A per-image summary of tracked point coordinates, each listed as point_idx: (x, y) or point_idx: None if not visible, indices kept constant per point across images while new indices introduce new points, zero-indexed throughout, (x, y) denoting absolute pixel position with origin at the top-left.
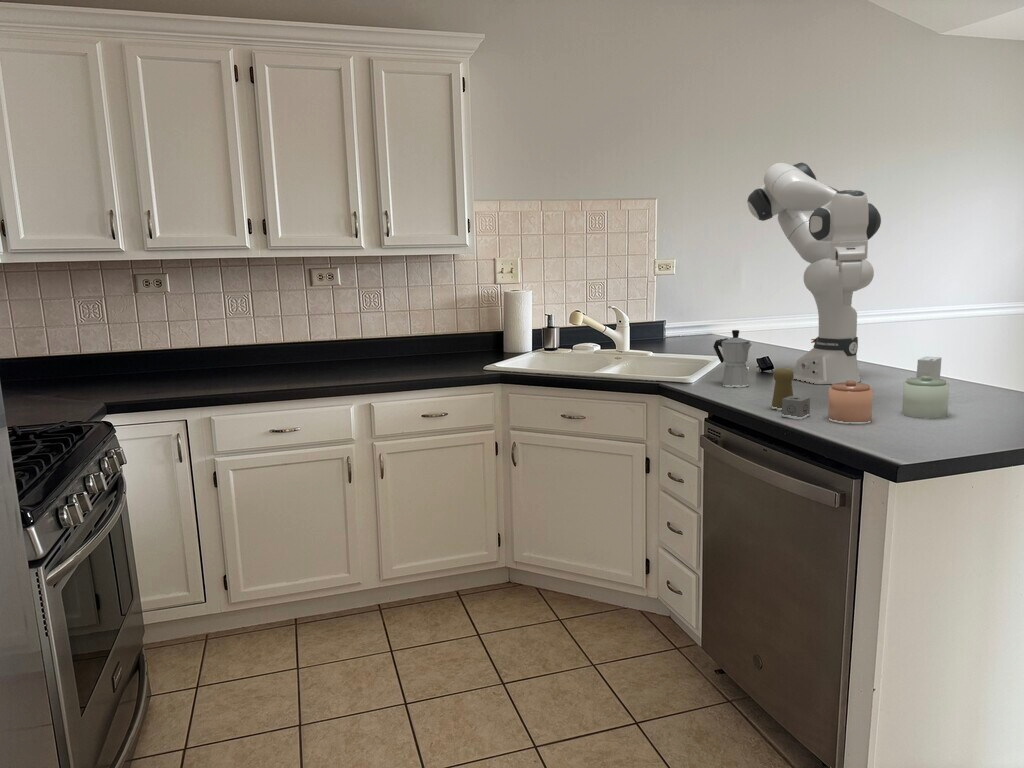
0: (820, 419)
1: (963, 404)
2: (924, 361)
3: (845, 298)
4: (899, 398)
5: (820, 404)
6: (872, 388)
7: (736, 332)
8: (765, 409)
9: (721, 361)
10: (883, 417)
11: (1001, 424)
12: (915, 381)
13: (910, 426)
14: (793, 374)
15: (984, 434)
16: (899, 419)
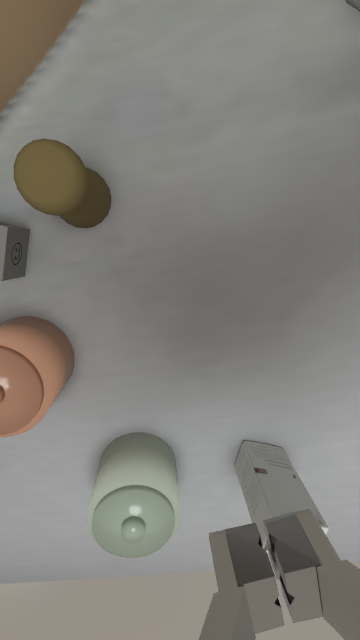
0: (4, 304)
1: None
2: None
3: (214, 609)
4: (282, 410)
5: (167, 273)
6: (19, 433)
7: None
8: None
9: None
10: (81, 410)
11: (103, 563)
12: (107, 510)
13: (23, 458)
14: (54, 214)
15: (17, 551)
16: (75, 436)
